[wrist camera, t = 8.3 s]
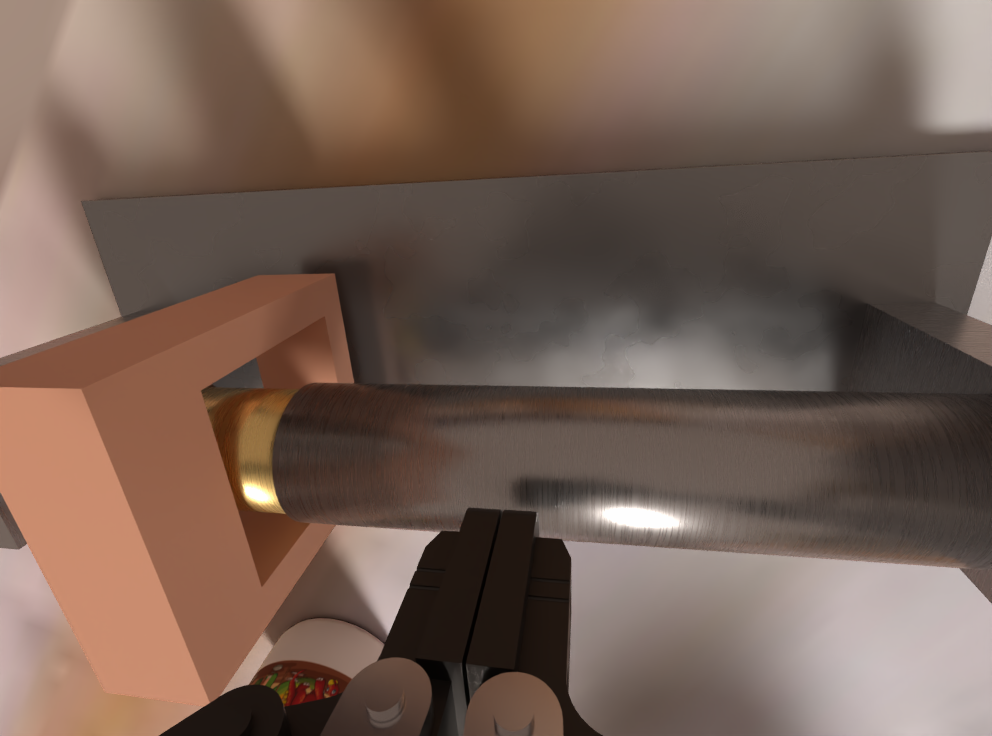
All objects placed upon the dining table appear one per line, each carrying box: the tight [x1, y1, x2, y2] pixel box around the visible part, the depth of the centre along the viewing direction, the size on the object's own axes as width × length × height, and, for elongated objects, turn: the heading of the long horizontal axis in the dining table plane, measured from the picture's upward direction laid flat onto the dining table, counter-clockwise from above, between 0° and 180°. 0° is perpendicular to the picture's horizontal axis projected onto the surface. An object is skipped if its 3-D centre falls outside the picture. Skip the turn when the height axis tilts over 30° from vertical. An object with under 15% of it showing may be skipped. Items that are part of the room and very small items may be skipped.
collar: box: [0, 273, 354, 706], centre depth 15 cm, size 3×8×10 cm, turn 3°
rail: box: [0, 151, 992, 603], centre depth 16 cm, size 32×14×9 cm, turn 93°
